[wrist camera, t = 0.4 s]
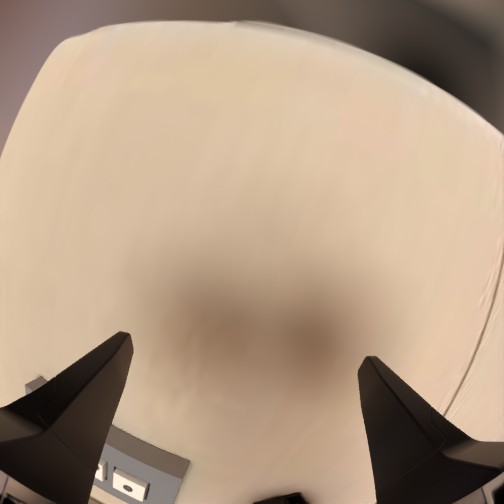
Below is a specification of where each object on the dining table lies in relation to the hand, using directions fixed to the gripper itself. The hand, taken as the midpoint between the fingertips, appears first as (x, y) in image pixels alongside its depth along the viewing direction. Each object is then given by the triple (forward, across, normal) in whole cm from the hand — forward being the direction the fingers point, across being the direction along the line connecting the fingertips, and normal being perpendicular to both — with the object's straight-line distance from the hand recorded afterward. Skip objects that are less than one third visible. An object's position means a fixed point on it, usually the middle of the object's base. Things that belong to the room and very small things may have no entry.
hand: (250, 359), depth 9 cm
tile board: (+4, +16, +28) cm, 33 cm away
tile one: (+1, +11, +28) cm, 30 cm away
